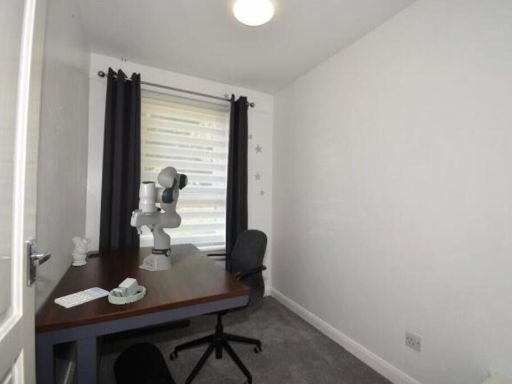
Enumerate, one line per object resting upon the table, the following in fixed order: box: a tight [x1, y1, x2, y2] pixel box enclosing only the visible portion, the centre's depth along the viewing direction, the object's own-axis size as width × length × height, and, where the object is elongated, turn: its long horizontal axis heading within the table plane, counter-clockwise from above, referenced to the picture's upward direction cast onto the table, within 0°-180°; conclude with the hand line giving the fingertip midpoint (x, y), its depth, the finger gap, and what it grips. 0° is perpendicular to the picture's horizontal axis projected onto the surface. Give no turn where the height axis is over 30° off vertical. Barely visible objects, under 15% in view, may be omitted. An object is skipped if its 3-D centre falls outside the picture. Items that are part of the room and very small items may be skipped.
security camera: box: [112, 277, 140, 297], centre depth 129 cm, size 6×7×10 cm
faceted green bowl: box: [107, 285, 147, 305], centre depth 130 cm, size 17×17×3 cm
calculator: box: [54, 287, 110, 309], centre depth 128 cm, size 13×20×2 cm, turn 151°
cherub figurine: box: [71, 234, 92, 267], centre depth 187 cm, size 12×12×22 cm
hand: (146, 232), depth 145 cm, fingers open, 8 cm apart
